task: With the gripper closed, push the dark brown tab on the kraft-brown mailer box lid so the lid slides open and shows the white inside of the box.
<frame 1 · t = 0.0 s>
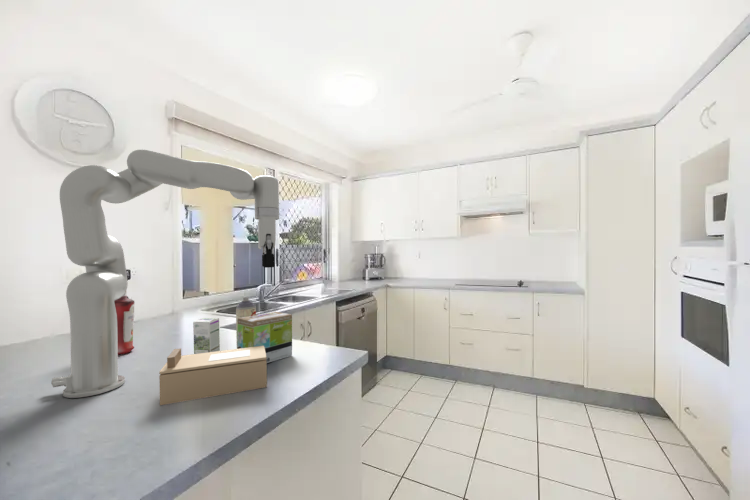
hand: (268, 267, 103), 31 cm above the table, tool pointing down, fingers open, 9 cm apart
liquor: (122, 353, 118), on the table
tea box: (265, 359, 107), on the table
mailer lid: (217, 353, 85), point 9 cm above the table, slide at 0.0 cm
syrup box: (207, 364, 104), on the table
mailer box: (218, 386, 85), on the table
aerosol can: (246, 352, 116), on the table
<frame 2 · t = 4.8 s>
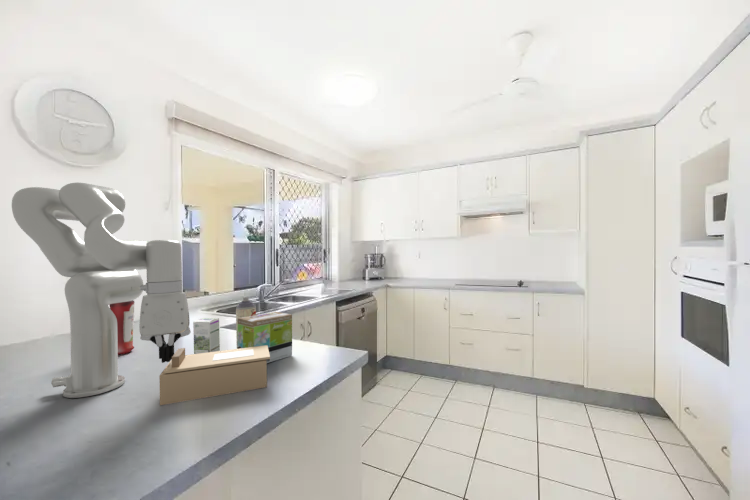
hand: (166, 360, 80), 9 cm above the table, tool pointing down, fingers closed
mailer lid: (221, 353, 85), point 9 cm above the table, slide at 0.9 cm, touching gripper
everything else where it was.
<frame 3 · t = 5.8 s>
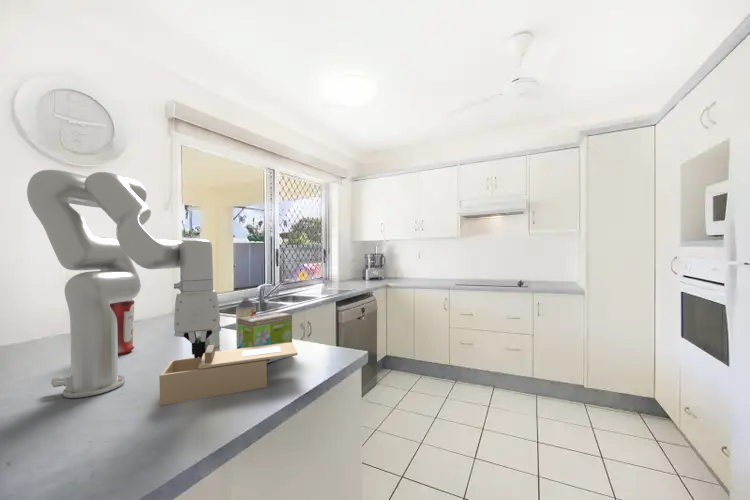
hand: (199, 356, 83), 9 cm above the table, tool pointing down, fingers closed
mailer lid: (250, 349, 88), point 9 cm above the table, slide at 8.1 cm, touching gripper
everything else where it was.
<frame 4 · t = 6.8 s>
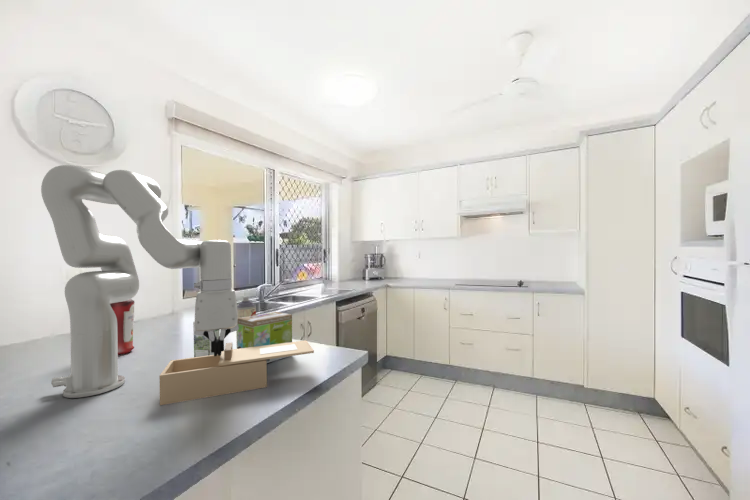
hand: (217, 354, 85), 9 cm above the table, tool pointing down, fingers closed
mailer lid: (267, 347, 90), point 9 cm above the table, slide at 12.6 cm, touching gripper
everything else where it was.
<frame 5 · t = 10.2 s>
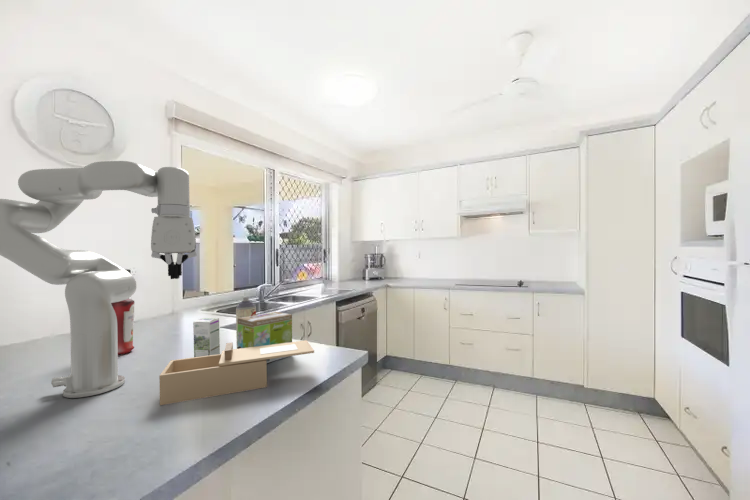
hand: (175, 278, 88), 29 cm above the table, tool pointing down, fingers closed
mailer lid: (267, 347, 90), point 9 cm above the table, slide at 12.7 cm
everything else where it was.
at the end: mailer lid slide at 12.7 cm; tea box moved 0.3 cm from its start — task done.
